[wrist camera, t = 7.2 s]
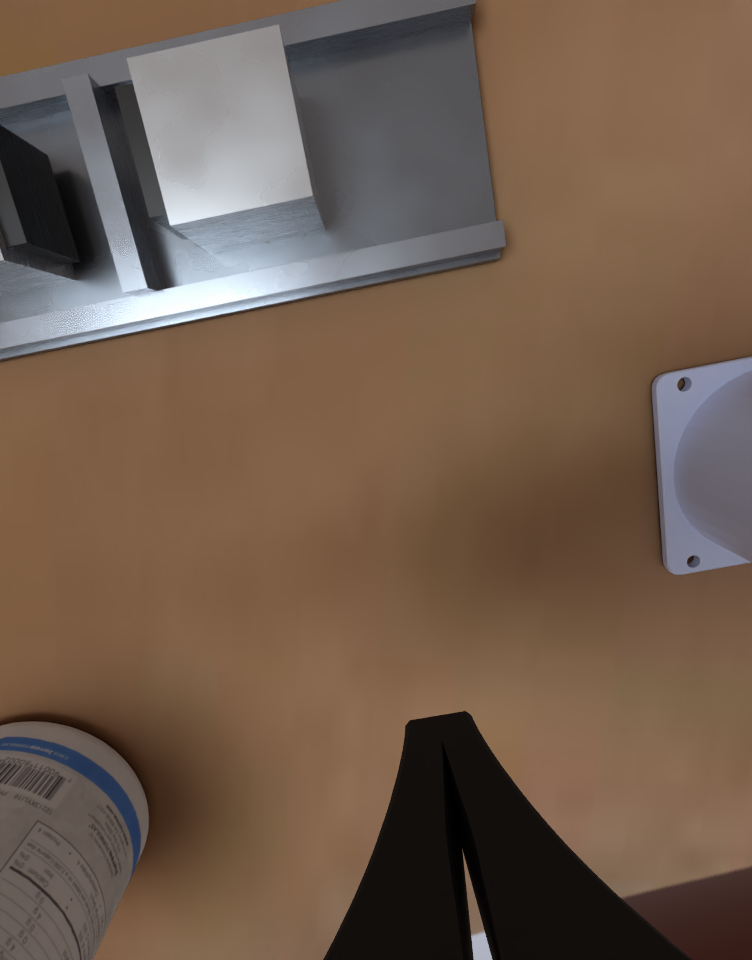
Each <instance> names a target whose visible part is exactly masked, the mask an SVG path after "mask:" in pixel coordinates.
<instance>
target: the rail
mask: <svg viewBox="0 0 752 960" xmlns="http://www.w3.org/2000/svg"><path fill="white" fill-rule="evenodd" d="M475 6H476V0H342V1H338V2H333V3H329V4H324V5H320V6H315V7H311V8H306V9H302V10H297V11H293V12H289V13H284V14H280V15H275V16H271V17H266V18H262V19H257V20H253V21H248V22H244V23H239V24H235V25H231V26H226V27H222V28H217V29H213V30H208V31H204V32H199V33H195V34H190V35H186V36H181V37H177V38H172V39H168V40H164V41H159V42H155V43H150V44H146V45H141V46H137V47H132V48H128V49H123V50H119V51H114V52H110V53H106V54H101V55H97V56H92V57H88V58H83V59H79V60H74V61H70V62H65V63H61V64H56V65H52V66H48V67H43V68H39V69H34V70H30V71H25V72H21V73H16V74H12V75H7V76H3V77H0V362H1V361H6V360H10V359H15V358H20V357H25V356H30V355H35V354H40V353H45V352H50V351H55V350H60V349H65V348H70V347H75V346H80V345H85V344H90V343H95V342H100V341H104V340H109V339H114V338H119V337H124V336H129V335H134V334H139V333H144V332H149V331H154V330H159V329H164V328H169V327H174V326H179V325H184V324H189V323H194V322H198V321H203V320H208V319H213V318H218V317H223V316H228V315H233V314H238V313H243V312H248V311H253V310H258V309H263V308H268V307H273V306H278V305H283V304H288V303H292V302H297V301H302V300H307V299H312V298H317V297H322V296H327V295H332V294H337V293H342V292H347V291H352V290H357V289H362V288H367V287H372V286H377V285H382V284H387V283H391V282H396V281H401V280H406V279H411V278H416V277H421V276H426V275H431V274H436V273H441V272H446V271H451V270H456V269H461V268H466V267H471V266H476V265H481V264H485V263H490V262H495V261H498V260H499V259H500V258H501V255H500V251H501V250H502V249H503V248H505V247H506V241H505V233H504V225H503V220H500V221H496V215H495V207H494V199H493V191H492V183H491V175H490V167H489V159H488V151H487V143H486V135H485V127H484V119H483V112H482V104H481V96H480V88H479V80H478V72H477V64H476V56H475V48H474V40H473V32H472V24H471V20H472V17H473V13H474V10H475ZM274 25H279V27H280V30H281V34H282V37H283V41H284V45H285V48H286V52H287V56H288V59H289V63H290V66H291V70H292V74H293V77H294V81H295V84H296V88H297V92H298V95H299V100H300V105H301V110H302V115H303V120H304V125H305V130H306V135H307V140H308V146H309V151H310V156H311V161H312V166H313V171H314V176H315V181H316V186H317V191H318V196H319V202H320V207H321V212H322V217H323V222H324V227H325V230H322V231H318V232H313V233H308V234H303V235H298V236H293V237H289V238H284V239H279V240H274V241H269V242H264V243H259V244H255V245H250V246H245V247H240V248H235V249H230V250H226V251H221V252H216V253H211V254H210V253H209V252H208V251H206V250H205V249H203V248H202V247H200V246H199V245H197V244H196V243H194V242H193V241H192V240H190V239H188V240H183V239H181V238H180V237H178V236H177V235H175V234H174V233H172V232H170V231H169V230H167V229H166V228H164V227H163V226H161V225H160V224H158V223H157V222H155V221H154V220H152V219H151V218H149V214H148V211H147V207H146V203H145V199H144V196H143V192H142V188H141V184H140V181H139V177H138V173H137V169H136V166H135V162H134V158H133V155H132V151H131V147H130V143H129V140H128V136H127V132H126V128H125V125H124V121H123V117H122V113H121V110H120V106H119V102H118V99H117V95H116V91H115V87H119V86H123V85H128V84H132V83H133V82H132V78H131V74H130V70H129V66H128V62H127V59H126V58H130V57H135V56H139V55H144V54H148V53H153V52H157V51H162V50H166V49H171V48H175V47H180V46H184V45H189V44H193V43H198V42H202V41H207V40H211V39H216V38H220V37H225V36H229V35H234V34H238V33H243V32H247V31H252V30H256V29H261V28H265V27H270V26H274Z"/></svg>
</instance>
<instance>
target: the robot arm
mask: <svg viewBox="0 0 752 960" xmlns="http://www.w3.org/2000/svg"><path fill="white" fill-rule="evenodd" d="M681 378H683V379H684V380H685V386H684V387H683V389H682V390H679V389H678V387H677V383H678V381H679V380H680V379H681ZM652 402H653V417H654V432H655V448H656V463H657V478H658V493H659V509H660V524H661V539H662V554H663V564H664V567H665V568H666V569H667V570H668V571H669V572H671V573H673V574H675V575H683V574H689V573H694V572H700V571H706V570H711V569H717V568H723V567H728V566H734V565H740V564H745V563H751V562H752V356H750V357H745V358H740V359H735V360H729V361H724V362H719V363H714V364H709V365H703V366H698V367H693V368H688V369H682V370H677V371H672V372H667V373H663V374H660V375H659V376H658V377H656V378H655V380H654V382H653V383H652ZM693 555H694V559H693V561H692V562H691V563H689V564H687V559H688V558H689V557H690V556H693ZM462 849H463V852H462ZM463 853H464V856H465V860H466V864H467V867H468V871H469V875H470V878H471V882H472V886H473V889H474V893H475V897H476V900H477V904H478V908H479V911H480V915H481V919H482V922H483V926H484V930H485V933H486V937H487V941H488V944H489V948H490V952H491V955H492V959H493V960H692V959H691V958H690V957H689V956H687V955H686V954H685V953H684V952H682V951H681V950H680V949H679V948H677V947H676V946H675V945H674V944H672V943H671V942H670V941H669V940H668V939H667V938H665V937H664V936H663V935H662V934H661V933H660V932H659V931H657V930H656V929H655V928H654V927H653V926H652V925H651V924H650V923H648V922H647V921H646V920H645V919H644V918H643V917H642V916H640V915H639V914H638V913H637V912H636V911H635V910H634V909H632V908H631V907H630V906H629V905H628V904H626V902H624V901H623V900H622V899H621V898H620V897H619V896H618V895H617V894H616V893H614V892H613V891H612V890H611V889H610V888H609V887H608V886H607V885H606V884H605V883H604V882H603V881H602V880H601V879H600V878H599V877H598V876H597V875H596V874H595V873H594V872H593V871H592V870H591V869H590V868H589V867H588V866H587V865H586V864H585V863H584V862H583V861H582V860H581V859H580V858H579V857H578V856H577V855H576V854H575V853H574V852H573V851H572V850H571V849H570V848H569V847H568V846H567V845H566V844H565V843H564V841H563V840H562V839H561V838H560V837H559V836H558V835H557V834H556V833H555V832H554V830H553V829H552V828H551V827H550V826H549V825H548V824H547V822H546V821H545V820H544V819H543V818H542V817H541V815H540V814H539V813H538V812H537V811H536V809H535V808H534V807H533V806H532V805H531V804H530V802H529V801H528V800H527V799H526V797H525V796H524V795H523V794H522V792H521V791H520V790H519V788H518V787H517V786H516V784H515V783H514V782H513V780H512V779H511V778H510V776H509V775H508V774H507V772H506V771H505V770H504V768H503V767H502V766H501V764H500V763H499V761H498V760H497V759H496V757H495V756H494V754H493V752H492V751H491V749H490V748H489V746H488V745H487V743H486V742H485V740H484V738H483V737H482V735H481V733H480V732H479V730H478V728H477V726H476V724H475V722H474V720H473V718H472V716H471V715H470V714H469V713H468V712H466V711H463V712H457V713H451V714H445V715H439V716H433V717H428V718H422V719H416V720H410V721H409V722H408V723H407V725H406V726H405V738H404V745H403V751H402V756H401V761H400V765H399V770H398V774H397V778H396V782H395V785H394V789H393V793H392V796H391V800H390V803H389V807H388V810H387V813H386V816H385V819H384V822H383V825H382V828H381V831H380V834H379V836H378V839H377V842H376V845H375V848H374V851H373V853H372V856H371V858H370V861H369V864H368V866H367V868H366V871H365V873H364V876H363V878H362V880H361V883H360V885H359V887H358V890H357V892H356V894H355V897H354V899H353V901H352V903H351V905H350V907H349V909H348V912H347V914H346V916H345V918H344V920H343V922H342V924H341V926H340V928H339V930H338V932H337V934H336V936H335V938H334V940H333V942H332V944H331V946H330V948H329V950H328V952H327V954H326V956H325V958H324V959H323V960H473V950H472V940H471V930H470V920H469V911H468V901H467V891H466V881H465V871H464V861H463Z"/></svg>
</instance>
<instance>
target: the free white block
mask: <svg viewBox="0 0 752 960" xmlns="http://www.w3.org/2000/svg"><path fill="white" fill-rule="evenodd" d="M126 59H127V62H128V66H129V70H130V74H131V78H132V82H133V83H132V84H128V85H123V86H119V87H115V91H116V95H117V99H118V102H119V106H120V110H121V113H122V117H123V121H124V125H125V128H126V132H127V136H128V140H129V143H130V147H131V151H132V155H133V158H134V162H135V166H136V169H137V173H138V177H139V181H140V184H141V188H142V192H143V196H144V199H145V203H146V207H147V211H148V214H149V218H151V219H152V220H154V221H155V222H157V223H158V224H160V225H161V226H163V227H164V228H166V229H167V230H169V231H170V232H172V233H174V234H175V235H177V236H178V237H180V238H181V239H183V240H188V239H190V240H192V241H193V242H194V243H196V244H197V245H199V246H200V247H202V248H203V249H205V250H206V251H208V252H209V253H210V254H211V253H216V252H221V251H226V250H230V249H235V248H240V247H245V246H250V245H255V244H259V243H264V242H269V241H274V240H279V239H284V238H289V237H293V236H298V235H303V234H308V233H313V232H318V231H322V230H325V227H324V222H323V217H322V212H321V207H320V202H319V196H318V191H317V186H316V181H315V176H314V171H313V166H312V161H311V156H310V151H309V146H308V140H307V135H306V130H305V125H304V120H303V115H302V110H301V105H300V100H299V95H298V92H297V88H296V84H295V81H294V77H293V74H292V70H291V66H290V63H289V59H288V56H287V52H286V48H285V45H284V41H283V37H282V34H281V30H280V27H279V25H274V26H270V27H265V28H261V29H256V30H252V31H247V32H243V33H238V34H234V35H229V36H225V37H220V38H216V39H211V40H207V41H202V42H198V43H193V44H189V45H184V46H180V47H175V48H171V49H166V50H162V51H157V52H153V53H148V54H144V55H139V56H135V57H130V58H126Z"/></svg>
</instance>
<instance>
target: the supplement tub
mask: <svg viewBox="0 0 752 960" xmlns="http://www.w3.org/2000/svg"><path fill="white" fill-rule="evenodd" d="M148 829H149V813H148V805H147V800H146V796H145V793H144V790H143V788H142V785H141V783H140V781H139V780H138V778H137V776H136V774H135V773H134V771H133V770H132V768H131V767H130V766H129V764H128V763H127V762H126V761H125V760H124V759H123V758H122V757H121V756H120V755H119V754H118V753H117V752H116V751H115V750H114V749H113V748H111V747H110V746H109V745H107V744H106V743H104V742H103V741H101V740H99V739H98V738H96V737H94V736H92V735H90V734H88V733H86V732H84V731H81V730H79V729H76V728H73V727H69V726H66V725H61V724H56V723H50V722H35V721H30V722H16V723H10V724H5V725H1V726H0V960H93V959H94V956H95V954H96V952H97V950H98V948H99V946H100V943H101V941H102V939H103V937H104V935H105V933H106V931H107V928H108V926H109V924H110V922H111V920H112V918H113V916H114V913H115V911H116V909H117V907H118V905H119V903H120V900H121V898H122V896H123V894H124V892H125V890H126V887H127V885H128V883H129V881H130V879H131V877H132V874H133V872H134V870H135V867H136V865H137V863H138V861H139V859H140V856H141V854H142V851H143V849H144V846H145V843H146V839H147V834H148Z"/></svg>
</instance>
